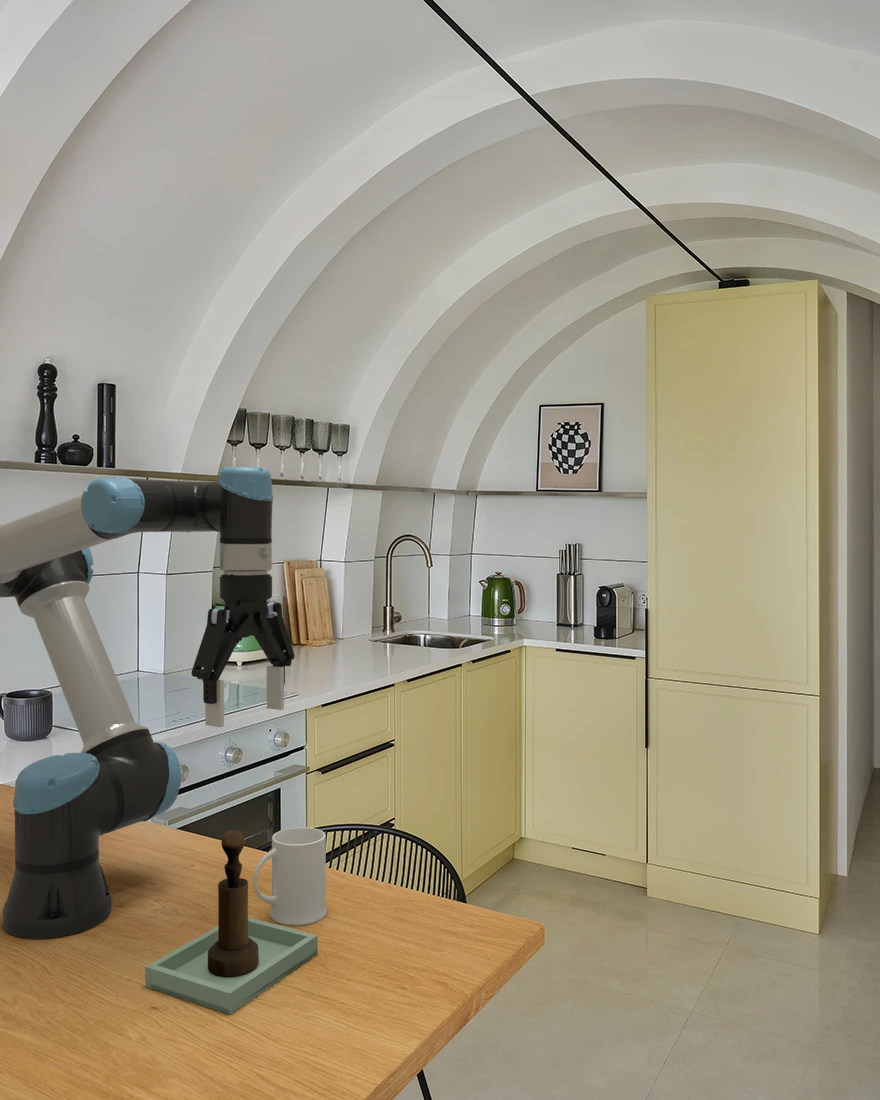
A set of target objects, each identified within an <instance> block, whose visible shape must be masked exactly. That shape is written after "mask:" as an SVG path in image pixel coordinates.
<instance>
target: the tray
mask: <svg viewBox="0 0 880 1100" xmlns="http://www.w3.org/2000/svg"><path fill="white" fill-rule="evenodd" d="M248 937H249V938H251V939H252V940H253V941H255V942H256V943H257V944H258V953H259V963H258V966H257V967H256V968H255V969H254V970H252V971H251V972H248V973H245V974H243V975H239V976H232V977H223V976H217V975H214V974H212V973H210V972H209V970H208V950H209V948H210V947H211V946H212V945H214V943H215V942H217V941H218V925H217V926H215V927H214V928H212V929H209V930H208V931H207V932H205V933H203V934H201V935H200V936H197V937H195V938H193V939H192V940H190V941H188V942H186V943H185V944H183V945H181V946H180V947H178V948H176V949H174V950H172V951H171V952H169V953H167V954H166V955H163V956H162V957H160V958H158V959H156V960H155V961H153V962H151V963H149V964H147V965H146V966H145V967H144V979H145V980H144V987H145V988H148V989H152V990H154V991H157V992H160V993H163V994H166V995H169V996H172V997H176V998H178V999H180V1000H181V999H182V1000H185V1001H188V1002H191V1003H194V1004H197V1005H199V1006H203V1007H206V1008H208V1009H210V1010H211V1009H212V1010H215V1011H218V1012H221V1013H224V1014H227V1015H232V1014H233V1013H235V1012H236V1011H237V1010H239V1009H240V1008H242V1007H243V1006H245V1005H246V1004H248V1003H249V1002H250V1001H252V1000H254V999H255V998H256V997H258V996H259V995H261V994H263V992H265V991H267V990H268V989H269V988H271V987H272V986H274V985H275V984H276V983H278V982H280V981H281V980H282V979H283V977H284V978H285V977H287V976H288V975H289V974H291V973H292V972H294V971H295V970H297V969H298V968H299V966H300V967H301V966H302V965H304V964H305V963H307V962H308V961H309V960H311V959H312V958H314V957H316V956H317V955H318V948H319V947H318V946H319V945H318V935H317V934H314V933H309V932H306V931H301V930H298V929H294V928H291V927H287V926H284V925H279V924H275V923H272V922H268V921H264V920H259V919H256V918H253V917H249V916H248ZM290 972H291V973H290ZM286 975H287V976H286Z"/></svg>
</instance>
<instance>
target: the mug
mask: <svg viewBox="0 0 880 1100" xmlns="http://www.w3.org/2000/svg"><path fill="white" fill-rule="evenodd" d="M326 840H327V838H326V832H324V831H323V830H321V829H319V828H312V827H299V826H298V827H291V828H285V829H281V830H279V831H277V832H274V834H273V835H272V836H271V850H269V851H268V852H267V853H265V854H264V855H263V856H261V859H260V860H259V861H258V862H257V865H256V866H255V869H254V873H253V877H252V885H253V889H254V890H253V891H254V892H255V893H256V895H257V897H258V898H259V899H260V900H261V901H263V902H265V903H267V904H271V909H270V912H269V914H270V915H269V916H270V918H271V920H273V921H274V922H276V923H277V924H281V925H283V926H284V925H285V926H296V927H297V926H306V925H311V924H315V923H317V922H319V921H321V920H322V919H325V917H326V916H327V914H328V908H327V902H326V901H327V900H326V898H327V897H326V896H327V895H326V894H327V893H326V887H327V886H326V885H327V884H326V882H327V881H326V878H327V876H326V868H327V867H326V857H327V856H326V851H327V850H326V849H327V847H326V846H327V845H326ZM270 859H271V895H270V896H269V895H265V894H263V893H262V892H261V891H260V889H259V887H258V878H259V877H258V876H259V873H260V870H261V869H262V867H263V866H264V864H265V863H266V862H268V861H269V860H270Z"/></svg>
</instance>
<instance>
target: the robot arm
mask: <svg viewBox="0 0 880 1100" xmlns="http://www.w3.org/2000/svg"><path fill="white" fill-rule="evenodd" d="M272 484H273V482H272V474H271V472H270V471H269V470H268V469H267V468H265V467H257V466H226V467H222V468H221V469H220V471H219V478H218V480H217V481H187V480H163V479H161V480H160V479H145V478H129V477H128V478H127V477H122V476H113V477H101V478H100V477H99V478H96V479H94V480H92V481H91V482H89V483H88V486H87V487H86V488H85V489H84V490H83V491H82V492H83V493H82V495H78V496H76V497H73V498H71V499H68V500H66V501H62V502H60V503H58V504H55V505H53V506H50V507H49V506H48V507H47V508H44V509H42V510H40V511H39V510H38V511H36V512H33V513H31V514H27V515H26V516H23V517H20V518H18V519H15V520H13V521H9V522H7V523H5V524H0V598H15V600H16V603H17V606H18V608H19V611H20V613H21V614H22V615H25V616H26V617H30V618H32V619H34V622H35V625H36V627H37V630H38V632H39V634H40V637H41V639H42V642H43V645H44V648H45V651H46V652H47V656H48V658H49V660H50V663H51V665H52V668H53V670H54V673H55V675H56V677H57V680H58V683H59V685H60V688H61V691H62V693H63V696H64V698H65V701H66V703H67V706H68V708H69V711H70V714H71V716H72V719H73V721H74V723H75V726H76V728H77V731H78V734H79V737H80V738H81V741H82V744H83V745H82V749H81V751H80V752H70V753H69V752H67V753H64V754H62V755H61V754H56V755H52V756H47V757H44V758H42V759H41V758H40V760H39V759H38V760H36V761H34V762H32V763H30V764H29V765H27V766H25V767H24V768H23V769H21V771H20V772H19V773H18V775H17V777H16V779H15V784H14V794H13V795H14V796H13V800H12V806H13V809H14V865H15V866H14V874H13V878H12V881H11V885H10V888H9V891H8V894H7V898H6V901H5V903H4V905H3V907H2V928H3V930H4V931H5V932H6V933H8V934H9V935H13V936H15V937H20V938H25V939H26V938H27V939H48V938H49V939H51V938H58V937H64V936H65V937H66V936H69V935H74V934H77V933H81V932H84V931H86V930H89V929H92V928H94V927H95V926H97V925H99V924H101V923H103V922H104V921H105V920H106V919H107V918H108V917H109V916H110V915H111V914H112V913H111V912H112V893H111V890H110V889H109V887H108V882H107V879H106V876H105V874H104V870H103V868H102V866H101V863H100V842H99V841H100V836H103V835H106V834H109V833H111V832H115V831H117V830H120V829H123V828H126V827H129V826H132V825H136V824H137V823H138V824H139V823H142V822H148V821H150V820H152V818H154V817H156V816H159V815H161V814H163V813H165V812H167V811H168V810H169V809H170V808H171V807H172V806H173V805H174V804H175V802H176V801H177V798H178V795H179V792H180V791H179V790H180V788H181V783H182V771H181V764H180V760H179V758H178V756H177V754H176V752H175V751H174V749H173V748H172V747H171V746H168V745H167V744H166V743H164V742H160V741H159V742H158V741H154V740H153V736H152V733H151V732H150V730H149V727H147V726H144V725H142V724H138V723H137V722H136V721H135V718H134V716H133V714H132V711H131V709H130V707H129V704H128V702H127V699H126V697H125V694H124V692H123V690H122V689H123V688H122V686H121V685H120V682H119V679H118V677H117V676H116V673H115V670H114V667H113V665H112V663H111V661H110V658H109V656H108V653H107V651H106V649H105V648H106V647H105V646H104V643H103V641H102V639H101V637H100V634H99V632H98V629H97V626H96V624H95V622H94V619H93V617H92V615H91V612H90V610H89V607H88V605H87V603H86V599H87V598H86V597H87V595H88V594H89V592H90V583H91V581H92V578H93V575H94V569H93V568H92V566H93V565H94V559H93V555H92V552H91V547H94V546H97V545H100V544H102V543H106V542H110V541H111V540H117V539H118V538H119V539H120V538H122V537H124V536H128V535H130V534H136V533H152V532H153V533H160V532H161V533H162V532H164V533H166V532H168V533H169V532H171V533H172V532H174V533H176V532H177V533H184V532H185V533H192V532H193V533H194V532H198V533H200V532H216V533H217V532H219V565H218V566H219V570H220V571H222V572H223V574H221V575H220V576H219V597H220V599H221V600H223V601H224V607H223V608H222V609H221V608H209V609H208V611H207V618H206V626H205V629H204V633H203V636H202V639H201V642H200V644H199V648H198V651H197V655H196V657H195V660H194V664H193V667H192V670H191V676H192V677H193V678H196V679H197V680H202V684H203V685H202V686H203V688H202V691H203V697H202V699H203V702H204V705H205V710H204V711H205V712H204V713H205V715H204V716H205V726H208V727H209V726H210V727H214V728H222V727H225V720H224V719H225V711H224V710H225V708H224V707H225V699H224V697H225V690H224V689H225V688H224V687H225V685H224V683H225V680H224V679H220V678H221V675H222V674H223V672H224V670H225V668H226V666H227V664H228V661H229V660H230V658H231V656H232V654H233V652H234V651H235V648H236V646H237V645H238V643H239V642H241V641H242V640H243V638H249V637H251V636H253V637H254V639H255V640H256V641H257V643H258V645H259V646H260V648H261V650H262V652H263V653H264V655H265V656H266V658H267V659H268V662H269V663H270V665H266V709H271V710H276V711H277V710H278V711H282V710H284V708H285V699H284V698H285V697H284V696H285V694H284V693H285V684H286V667H290V666H292V661H293V660H294V659H295V657H296V655H295V652H294V649H293V645H292V643H291V639H290V636H289V633H288V630H287V627H286V624H285V620H284V618H283V610H282V603H280V602H272V601H271V602H269V600H271V599H272V597H273V576H272V575H271V574H270V573H268V571H269V572H270V571H271V570H272V569H273V563H272V562H273V560H272V557H273V556H272V555H273V554H272V552H273V548H272V545H273V544H272V543H273V538H272V537H273V536H272V535H273V534H272V531H273V530H272V529H273V528H272V527H273V525H272V524H273V523H272V521H273V500H274V495H273V485H272Z"/></svg>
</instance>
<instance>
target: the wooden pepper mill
mask: <svg viewBox="0 0 880 1100" xmlns="http://www.w3.org/2000/svg"><path fill="white" fill-rule="evenodd" d="M245 842H246V840H245V836H244V834H243V833H242V831H240V830H237V829H231V830H229V831H226V832H225V833H224V834H223V836H222V839H221V841H220V843H221V848H222V850H223V852H224V853H225V855H226V857H227V863H225V864H224V872H225V876H226V878H225V879H223V880H220V881H219V882H218V884H217V890H218V891H217V894H218V895H217V896H218V897H217V899H218V902H217V903H218V905H217V906H218V908H217V911H218V913H217V914H218V915H217V917H218V920H217V921H218V925H217V926H218V941H217V942H215V943H214V945H212V946H211V947H210V948H209V950H208V970H209V972H210V973H212V974H214V975H217V976H223V977H232V976H239V975H243V974H245V973H248V972H251V971H252V970H254V969H255V968H256V967H257V966H258V963H259V953H258V944H257V943H256V942H255V941H253V940H252V939H251V938H249V937H248V917H249V880H247V879H246V878H243V877H241V874H242V873H241V872H242V870H243V864H242V862H240V854H241V853H242V852H243V849H244V847H245V844H246V843H245Z"/></svg>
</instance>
